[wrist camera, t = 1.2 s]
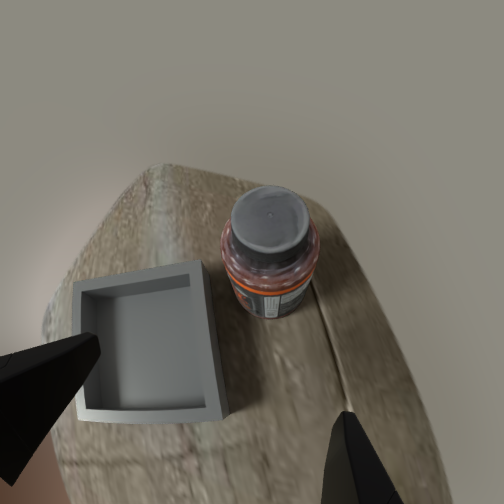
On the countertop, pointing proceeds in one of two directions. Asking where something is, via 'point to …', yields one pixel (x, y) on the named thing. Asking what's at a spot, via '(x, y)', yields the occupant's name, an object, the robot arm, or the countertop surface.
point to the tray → (151, 347)
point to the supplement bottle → (270, 251)
